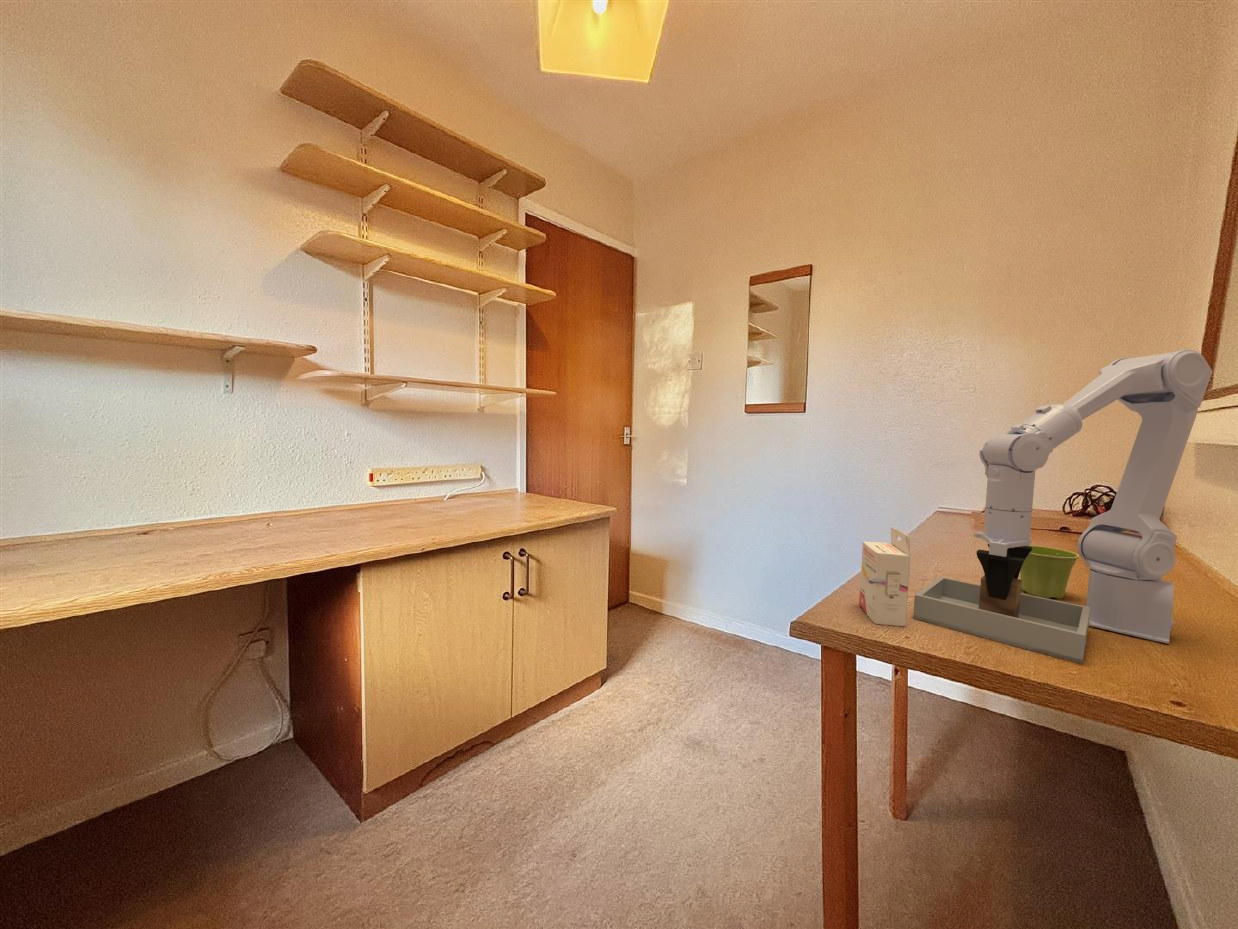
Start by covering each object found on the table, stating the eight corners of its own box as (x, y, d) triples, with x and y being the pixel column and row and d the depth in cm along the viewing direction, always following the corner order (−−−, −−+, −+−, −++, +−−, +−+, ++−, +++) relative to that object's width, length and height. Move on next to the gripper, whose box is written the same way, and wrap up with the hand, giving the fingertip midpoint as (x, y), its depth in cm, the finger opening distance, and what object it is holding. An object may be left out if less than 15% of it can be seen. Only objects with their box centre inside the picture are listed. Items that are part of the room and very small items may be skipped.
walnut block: (1018, 622, 75) (1021, 579, 75) (1013, 629, 72) (1017, 585, 72) (983, 613, 79) (986, 573, 78) (977, 620, 75) (981, 578, 75)
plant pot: (1070, 606, 85) (1075, 559, 84) (1005, 592, 92) (1009, 549, 92) (1078, 596, 91) (1083, 552, 90) (1016, 583, 98) (1020, 542, 97)
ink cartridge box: (856, 605, 83) (862, 523, 82) (887, 608, 82) (893, 525, 81) (873, 624, 74) (879, 533, 73) (907, 627, 73) (913, 536, 72)
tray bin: (1087, 632, 73) (1090, 607, 73) (1082, 664, 63) (1085, 635, 62) (938, 597, 88) (940, 576, 88) (913, 618, 77) (914, 595, 77)
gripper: (985, 502, 82) (979, 577, 83) (967, 510, 72) (961, 595, 73) (1039, 507, 77) (1032, 587, 78) (1027, 517, 67) (1019, 609, 68)
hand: (1001, 592), depth 75 cm, fingers open, 7 cm apart
